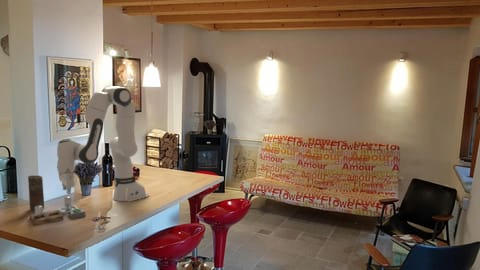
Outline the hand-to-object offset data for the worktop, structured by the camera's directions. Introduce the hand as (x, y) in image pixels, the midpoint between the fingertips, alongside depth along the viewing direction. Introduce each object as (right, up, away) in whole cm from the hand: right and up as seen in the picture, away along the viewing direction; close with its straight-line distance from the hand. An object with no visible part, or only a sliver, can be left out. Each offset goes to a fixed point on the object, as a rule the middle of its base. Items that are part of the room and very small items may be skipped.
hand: (66, 191), depth 208 cm
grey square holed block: (+8, -13, -6) cm, 16 cm away
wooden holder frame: (-5, -13, -11) cm, 18 cm away
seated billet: (-8, -14, -14) cm, 21 cm away
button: (+8, -11, -6) cm, 15 cm away
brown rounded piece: (-19, -11, +4) cm, 22 cm away
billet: (0, -11, +2) cm, 11 cm away
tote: (0, -12, +2) cm, 12 cm away
